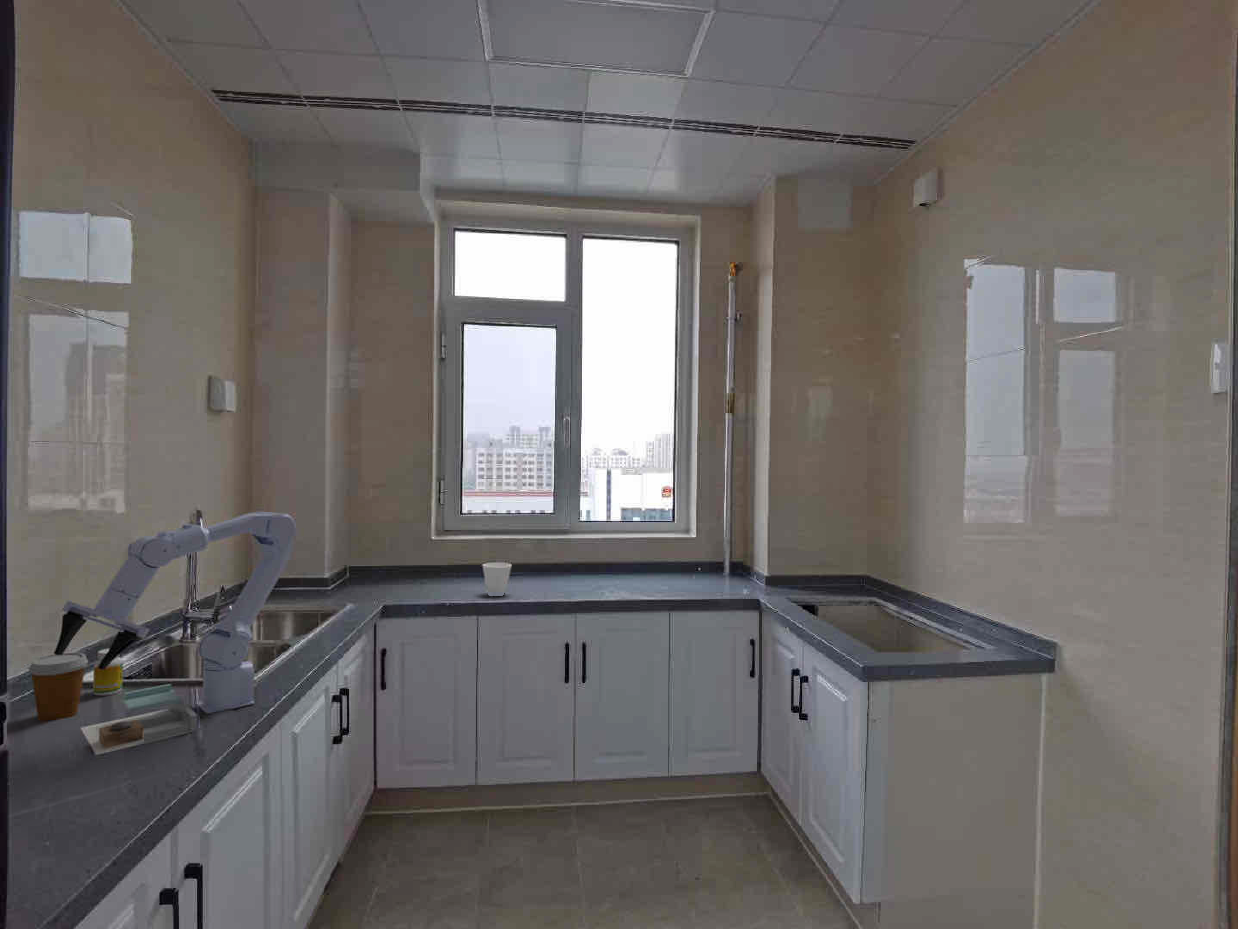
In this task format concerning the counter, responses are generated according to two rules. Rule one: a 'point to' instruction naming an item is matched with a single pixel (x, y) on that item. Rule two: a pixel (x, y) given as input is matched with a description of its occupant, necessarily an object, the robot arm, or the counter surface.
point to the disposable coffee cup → (58, 684)
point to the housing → (149, 726)
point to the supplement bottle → (107, 676)
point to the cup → (496, 576)
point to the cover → (150, 698)
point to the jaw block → (120, 733)
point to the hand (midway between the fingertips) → (79, 661)
